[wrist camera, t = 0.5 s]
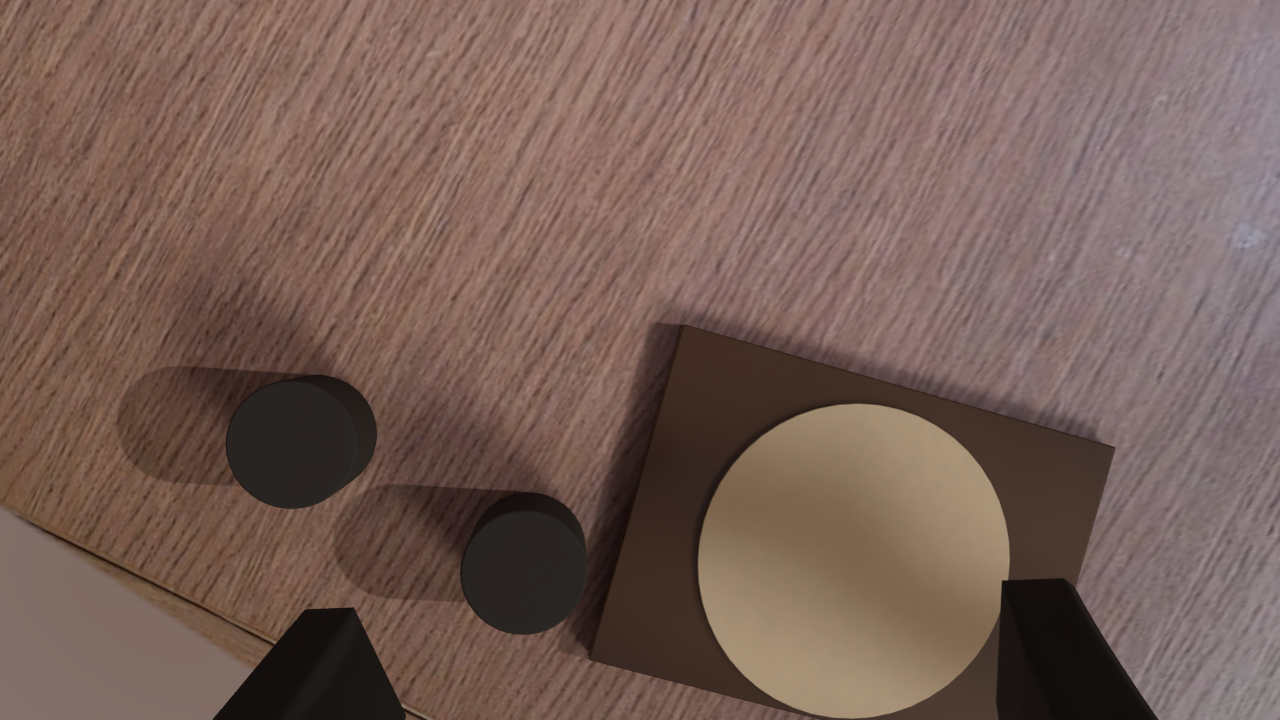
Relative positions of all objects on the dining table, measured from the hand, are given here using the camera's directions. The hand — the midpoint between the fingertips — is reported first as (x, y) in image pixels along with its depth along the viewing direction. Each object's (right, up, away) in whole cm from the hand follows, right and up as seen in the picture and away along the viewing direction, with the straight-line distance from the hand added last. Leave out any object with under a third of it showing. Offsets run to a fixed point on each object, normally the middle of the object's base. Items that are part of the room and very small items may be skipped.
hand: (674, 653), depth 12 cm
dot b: (-11, +1, +24) cm, 27 cm away
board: (+7, -3, +26) cm, 27 cm away
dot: (-4, -3, +25) cm, 25 cm away
